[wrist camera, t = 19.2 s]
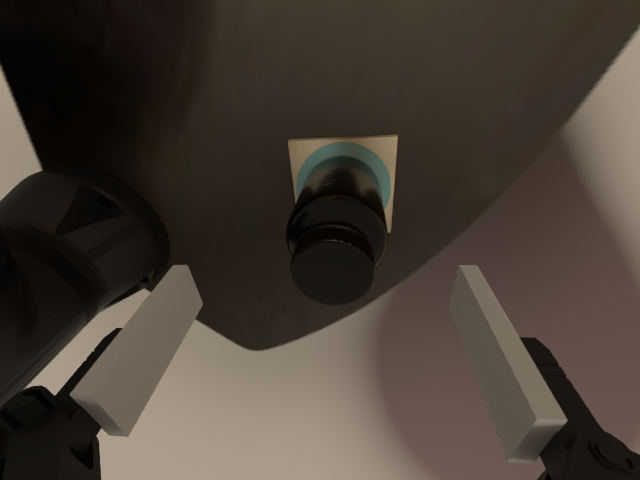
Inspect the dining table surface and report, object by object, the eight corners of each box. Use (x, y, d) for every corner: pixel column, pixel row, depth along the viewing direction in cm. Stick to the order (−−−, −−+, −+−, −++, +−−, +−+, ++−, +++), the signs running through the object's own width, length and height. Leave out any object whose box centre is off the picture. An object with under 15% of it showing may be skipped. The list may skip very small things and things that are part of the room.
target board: (300, 229, 30) (299, 233, 29) (289, 139, 25) (287, 141, 24) (390, 229, 29) (390, 233, 28) (396, 134, 24) (397, 136, 23)
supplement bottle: (395, 196, 26) (419, 288, 16) (336, 236, 29) (325, 334, 19) (347, 135, 24) (340, 198, 14) (288, 185, 27) (246, 267, 17)
